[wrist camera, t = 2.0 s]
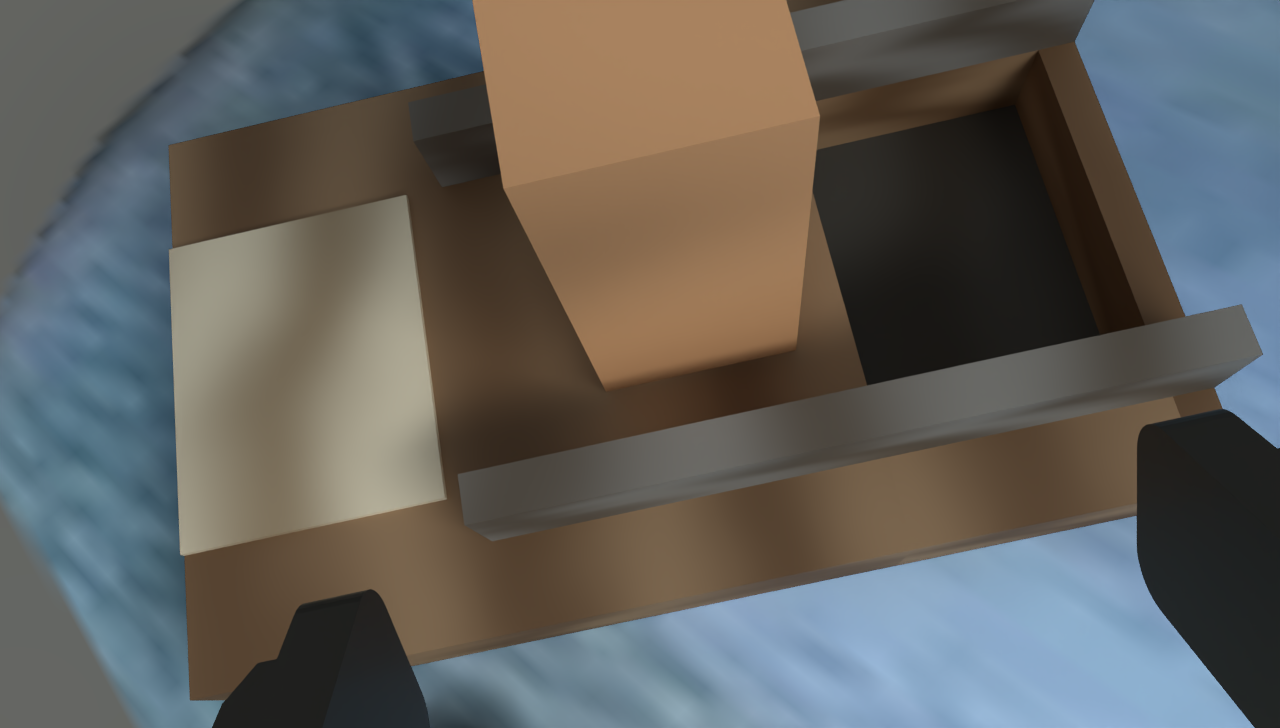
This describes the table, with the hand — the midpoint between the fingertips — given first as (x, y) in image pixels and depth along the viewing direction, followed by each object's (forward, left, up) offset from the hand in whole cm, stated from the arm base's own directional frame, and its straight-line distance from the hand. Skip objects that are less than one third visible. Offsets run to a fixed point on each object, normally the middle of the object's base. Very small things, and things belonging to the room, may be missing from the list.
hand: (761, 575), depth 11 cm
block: (0, -9, -14) cm, 17 cm away
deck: (+1, -9, -17) cm, 19 cm away
